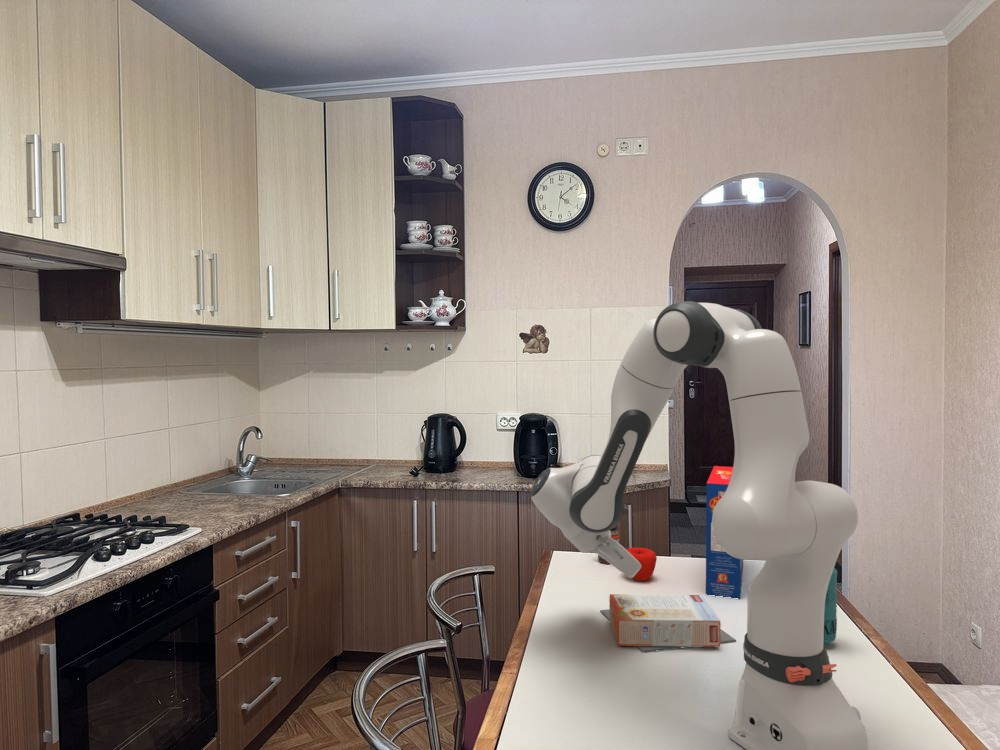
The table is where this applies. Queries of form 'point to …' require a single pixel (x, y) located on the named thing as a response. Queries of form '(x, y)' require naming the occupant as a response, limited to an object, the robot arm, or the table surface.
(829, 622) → the beverage bottle
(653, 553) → the apple
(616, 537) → the supplement bottle
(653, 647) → the mat
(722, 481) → the pasta box
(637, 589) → the table surface
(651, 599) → the cracker box
